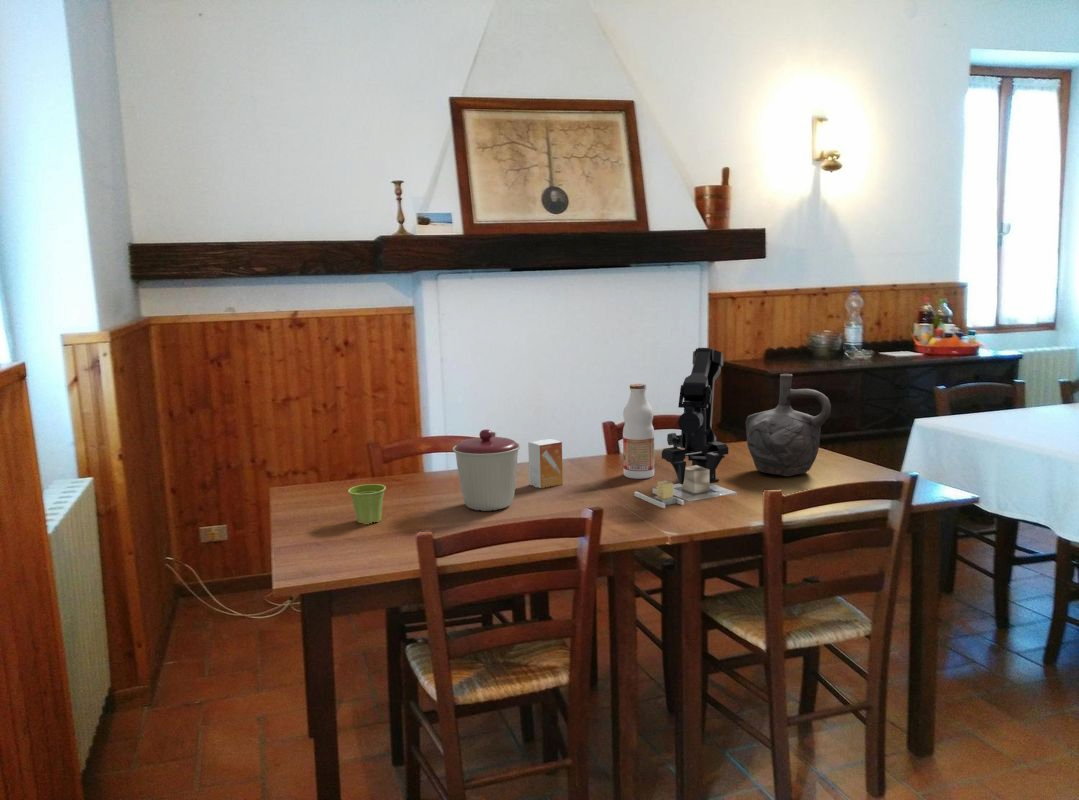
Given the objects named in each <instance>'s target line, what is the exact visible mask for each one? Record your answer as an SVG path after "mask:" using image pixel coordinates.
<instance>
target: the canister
mask: <svg viewBox="0 0 1079 800" xmlns="http://www.w3.org/2000/svg"><path fill="white" fill-rule="evenodd" d="M520 449H521V444H520V443H518V442H517V441H515V440H513V439H511V438H507V437H503V436H502V437H501V436H493V432H492V430H490V429H482V430H480V432H479V437H474V438H473V437H472V438H468V439H464V440H462V441H460V442H458V443H457V444H456V445H454V446H453V447H452V451H453V452H454V453H455V460H456V465H457V473H458V478H459V484H460V485H459V487H460V490H461V494H462V495H461V496H462V500H463V503H464V504H465V505H466V507H468V509H471V510H475V511H479V510H481V512H482V511H483V512H493V511H497V510H498V509H499V510H503V509H506V508H508V507H509V506H510V505H511V504H512V503H513V501H514V498H515V491H516V482H517V481H516V480H517V469H518V468H517V467H518V466H517V465H518V454H519V450H520ZM492 510H493V511H492Z"/></svg>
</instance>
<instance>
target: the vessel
mask: <svg viewBox="0 0 1079 800" xmlns="http://www.w3.org/2000/svg"><path fill="white" fill-rule="evenodd" d="M779 377H780V378H779V398H778V404H777V406H775V408H772V409H769V410H764V411H760V412H756V413H753V414H749V415H748V416H747V417H746V420H745V429H746V430H745V432H746V445H747V448H748V450H749V453H750V456H751V458H752V461H753V464H754V467H755V469H756V470H758V471H759V472H761V473H765V474H770V475H776V476H778V475H779V476H782V477H783V476H784V477H791V476H795V474H796V475H800V474H805V473H807V472H809V471H810V470H811V469H812V467H813V465H814V463H815V461H816V458H817V455H818V453H819V447H820V440H821V430H822V428H821V427H822V425H823V424H825V422H826V421H827V420H829V417H830V415H831V413H832V405H831V402H830V399H829V398H828V396H826V395H825V394H824V393H822V392H820V391H818V390H817V389H812V388H811V389H810V388H798V389H793V388H792V381H793V374H792V373H782V374H780V375H779ZM799 398H801V399H802V398H808V399H809V398H810V399H815V400H817V401H818V402H819V403H820V405H821V411H820V413H819V414H818V415H816V416H815V415H814V416H813V415H810V414H809V413H804V412H801V411H798V410H794V409H793V408H792V406H791V401H792V400H794V399H799Z"/></svg>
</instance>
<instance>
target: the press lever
mask: <svg viewBox="0 0 1079 800" xmlns="http://www.w3.org/2000/svg"><path fill="white" fill-rule="evenodd" d="M673 484H674V482H671V481H670V480H662V481H656V487H657V495H655V496H653V499H655V500H658V501H660V502H662V503H665V506H669V505H675V504H677V503H676V498H677V497H676V496H674V495H673ZM673 496H674V497H673Z"/></svg>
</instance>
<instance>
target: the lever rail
mask: <svg viewBox="0 0 1079 800" xmlns="http://www.w3.org/2000/svg"><path fill="white" fill-rule="evenodd" d="M652 494H654V495H655V496H657V489H656V488H652ZM634 497H636V498H638V499H642V500H643V501H644V502H645V501H646V502H648V503H650V504H652V505H654V506H657V507H659V508H662V509H666V505H665V503H662V502H660V501H658V500H655V499H654V497H650V496H648V495H646V494H643V493H641V492H638V491H634ZM673 497H675V496H674V495H673ZM676 504H679V505H681V506H684V505H685V500H683V499H681V498H679V497H676Z"/></svg>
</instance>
